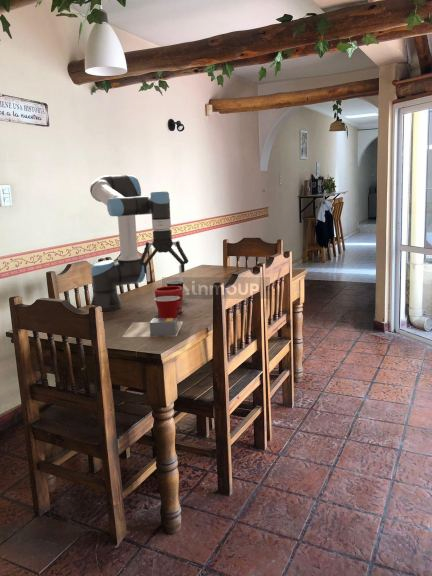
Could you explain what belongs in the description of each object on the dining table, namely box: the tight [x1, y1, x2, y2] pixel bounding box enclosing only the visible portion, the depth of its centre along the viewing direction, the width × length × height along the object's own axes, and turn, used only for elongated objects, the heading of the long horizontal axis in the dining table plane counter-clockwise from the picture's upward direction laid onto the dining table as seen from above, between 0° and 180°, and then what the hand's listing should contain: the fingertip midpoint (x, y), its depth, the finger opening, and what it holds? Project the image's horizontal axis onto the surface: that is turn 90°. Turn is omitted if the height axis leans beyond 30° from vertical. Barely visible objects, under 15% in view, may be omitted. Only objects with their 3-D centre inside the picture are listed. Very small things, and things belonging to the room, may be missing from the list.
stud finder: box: [149, 317, 178, 337], centre depth 191 cm, size 10×6×6 cm, turn 86°
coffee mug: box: [166, 279, 184, 291], centre depth 251 cm, size 12×9×10 cm
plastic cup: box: [153, 296, 180, 318], centre depth 203 cm, size 11×11×12 cm
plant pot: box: [154, 285, 184, 314], centre depth 228 cm, size 13×13×12 cm
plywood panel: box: [121, 321, 184, 338], centre depth 199 cm, size 22×20×2 cm
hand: (165, 280), depth 200 cm, fingers open, 13 cm apart
